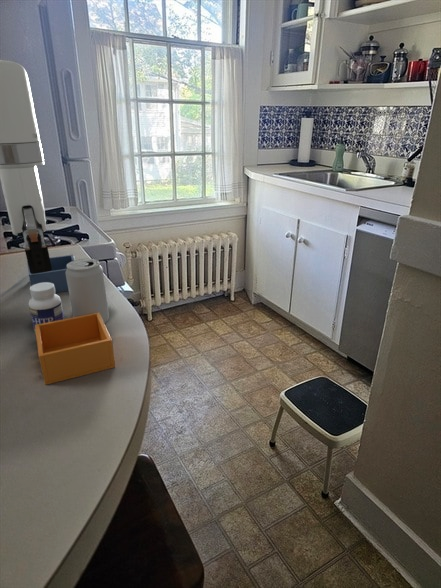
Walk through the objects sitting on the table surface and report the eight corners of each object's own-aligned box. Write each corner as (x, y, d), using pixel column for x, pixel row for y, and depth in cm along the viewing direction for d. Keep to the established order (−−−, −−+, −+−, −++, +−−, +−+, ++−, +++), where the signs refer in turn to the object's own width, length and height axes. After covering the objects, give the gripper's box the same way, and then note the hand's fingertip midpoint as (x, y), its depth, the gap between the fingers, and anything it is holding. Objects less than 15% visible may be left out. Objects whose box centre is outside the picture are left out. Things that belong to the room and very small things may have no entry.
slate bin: (33, 296, 85) (28, 275, 83) (31, 280, 93) (26, 260, 91) (82, 288, 89) (78, 267, 87) (75, 273, 98) (72, 254, 95)
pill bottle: (29, 337, 69) (18, 292, 66) (43, 323, 74) (34, 280, 70) (58, 338, 69) (49, 293, 65) (70, 324, 74) (63, 281, 70)
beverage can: (108, 329, 72) (99, 268, 67) (71, 332, 71) (60, 270, 66) (111, 313, 78) (103, 256, 73) (77, 315, 77) (67, 258, 72)
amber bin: (45, 385, 57) (38, 356, 55) (40, 350, 66) (34, 324, 63) (115, 367, 61) (111, 339, 59) (102, 337, 70) (99, 312, 68)
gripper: (-10, 153, 64) (14, 252, 72) (-16, 162, 50) (15, 284, 57) (39, 150, 67) (58, 246, 75) (47, 158, 53) (69, 275, 60)
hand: (39, 262), depth 66 cm, fingers open, 9 cm apart
